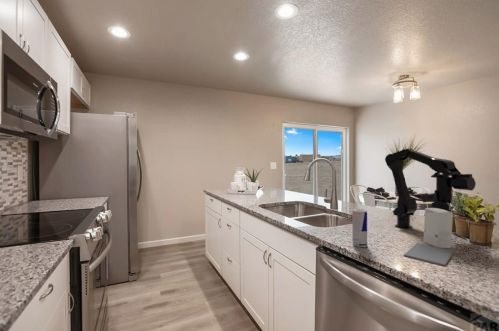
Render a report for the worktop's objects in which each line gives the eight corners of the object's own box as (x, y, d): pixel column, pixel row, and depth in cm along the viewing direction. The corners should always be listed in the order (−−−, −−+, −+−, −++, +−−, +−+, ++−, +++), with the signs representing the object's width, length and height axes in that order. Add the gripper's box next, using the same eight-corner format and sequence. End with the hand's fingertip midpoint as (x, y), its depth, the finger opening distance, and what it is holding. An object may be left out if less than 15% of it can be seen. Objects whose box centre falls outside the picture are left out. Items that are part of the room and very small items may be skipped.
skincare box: (423, 241, 105) (423, 207, 105) (437, 241, 105) (437, 207, 105) (438, 248, 97) (438, 211, 97) (453, 248, 97) (453, 211, 97)
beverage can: (366, 248, 98) (366, 211, 97) (351, 246, 101) (351, 210, 100) (368, 244, 102) (367, 209, 102) (353, 242, 105) (353, 208, 105)
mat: (417, 244, 102) (417, 242, 102) (454, 252, 93) (454, 250, 93) (403, 256, 90) (403, 254, 90) (444, 266, 81) (444, 264, 81)
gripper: (427, 185, 122) (427, 216, 122) (417, 188, 109) (417, 222, 110) (456, 186, 114) (456, 219, 114) (449, 190, 101) (448, 227, 101)
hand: (443, 222), depth 110 cm, fingers closed
